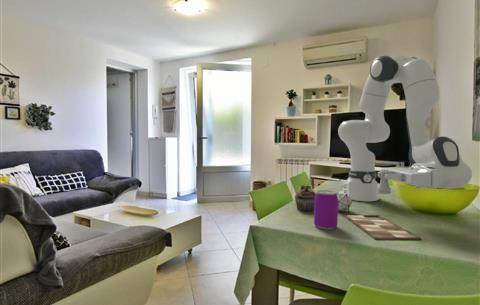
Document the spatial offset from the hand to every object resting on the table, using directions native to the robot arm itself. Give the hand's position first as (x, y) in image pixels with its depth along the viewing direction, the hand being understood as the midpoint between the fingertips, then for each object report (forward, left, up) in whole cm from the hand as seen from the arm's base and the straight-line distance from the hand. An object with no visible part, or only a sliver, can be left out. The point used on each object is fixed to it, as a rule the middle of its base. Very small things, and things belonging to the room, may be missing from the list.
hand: (381, 175), depth 102 cm
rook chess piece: (0, +1, -6) cm, 6 cm away
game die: (-17, -7, -18) cm, 26 cm away
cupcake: (-20, -21, -18) cm, 34 cm away
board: (+3, -2, -17) cm, 18 cm away
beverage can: (+3, -20, -17) cm, 27 cm away
